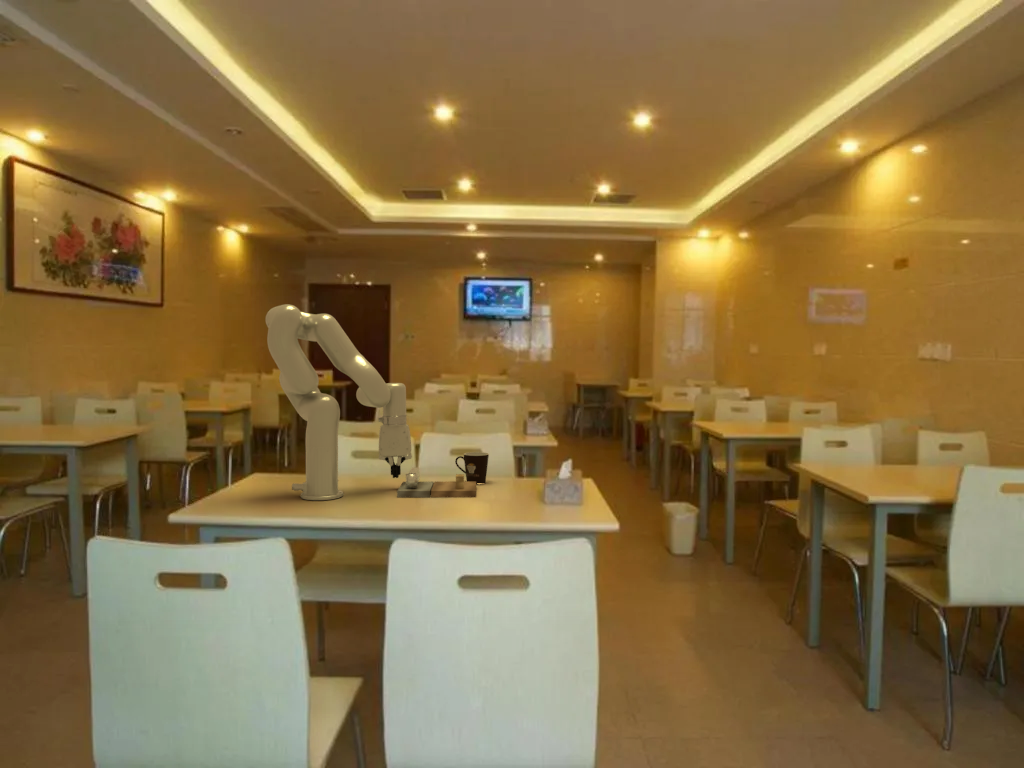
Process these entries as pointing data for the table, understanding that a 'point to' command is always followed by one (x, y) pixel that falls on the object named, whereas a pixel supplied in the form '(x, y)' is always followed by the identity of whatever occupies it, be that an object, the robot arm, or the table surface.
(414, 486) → the lock bar
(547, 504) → the table surface
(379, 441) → the robot arm
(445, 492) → the wooden flat block
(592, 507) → the table surface
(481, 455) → the coffee mug
